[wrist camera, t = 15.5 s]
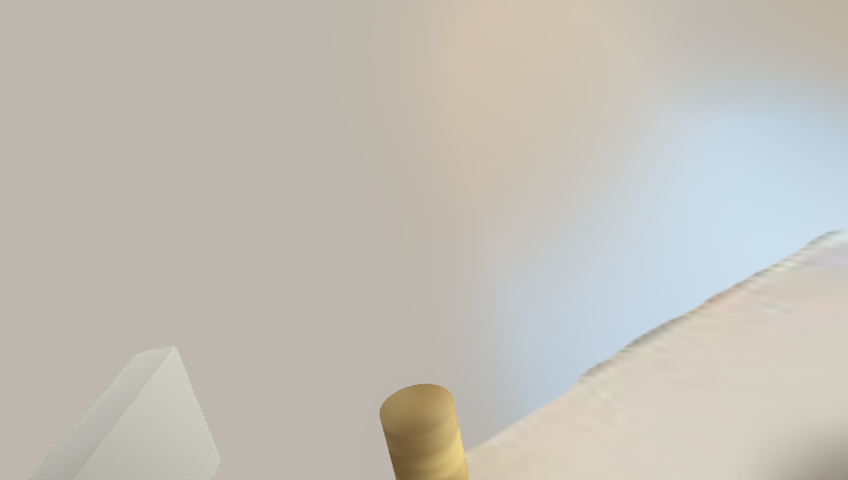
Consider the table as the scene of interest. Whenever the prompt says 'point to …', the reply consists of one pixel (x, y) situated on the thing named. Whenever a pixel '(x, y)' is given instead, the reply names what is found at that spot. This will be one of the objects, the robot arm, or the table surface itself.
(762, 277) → the table surface
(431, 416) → the peg
